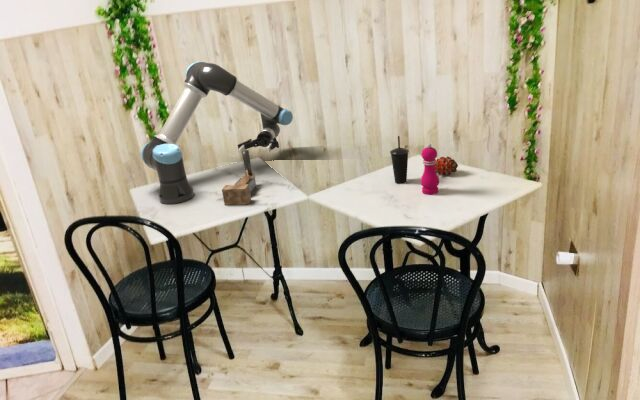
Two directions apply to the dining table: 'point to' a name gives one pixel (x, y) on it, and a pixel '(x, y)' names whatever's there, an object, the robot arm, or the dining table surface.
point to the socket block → (236, 194)
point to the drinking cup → (400, 163)
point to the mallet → (246, 169)
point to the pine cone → (445, 166)
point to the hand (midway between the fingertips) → (253, 151)
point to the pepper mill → (429, 171)
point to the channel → (250, 185)
